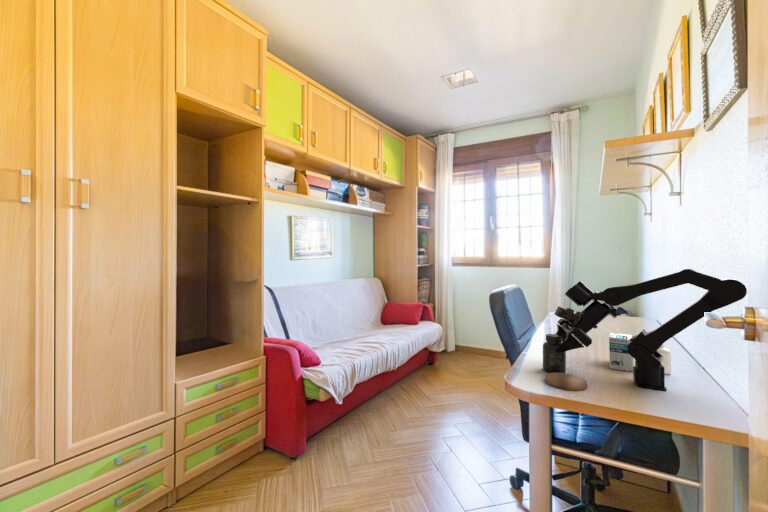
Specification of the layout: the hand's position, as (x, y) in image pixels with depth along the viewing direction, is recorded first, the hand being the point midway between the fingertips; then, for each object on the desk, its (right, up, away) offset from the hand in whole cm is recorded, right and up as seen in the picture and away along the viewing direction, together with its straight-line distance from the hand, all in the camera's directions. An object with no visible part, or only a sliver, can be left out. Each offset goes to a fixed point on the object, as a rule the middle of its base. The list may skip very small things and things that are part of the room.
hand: (553, 348), depth 109 cm
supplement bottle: (0, -8, 0) cm, 8 cm away
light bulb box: (+27, -8, +5) cm, 28 cm away
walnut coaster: (-2, -7, -11) cm, 14 cm away
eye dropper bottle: (+35, -8, -1) cm, 35 cm away
